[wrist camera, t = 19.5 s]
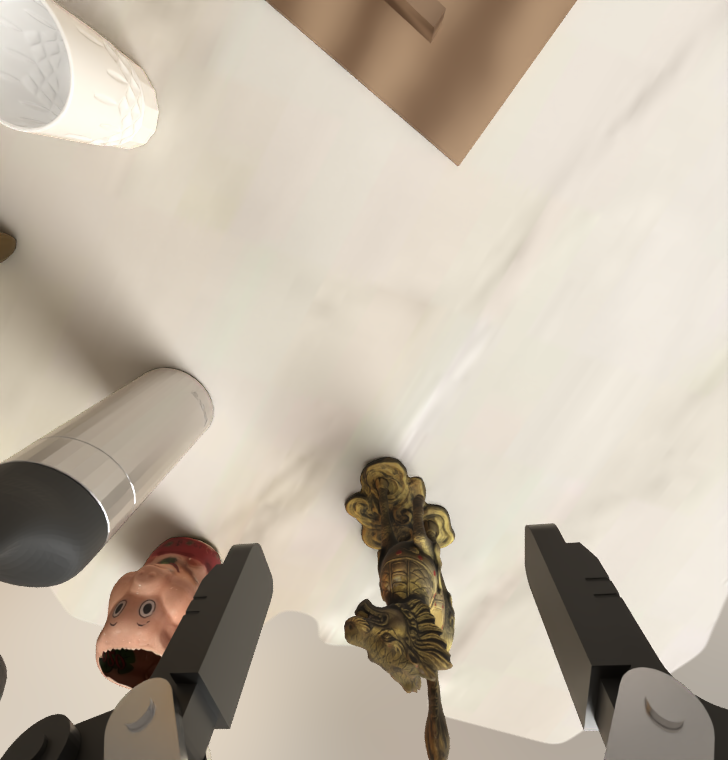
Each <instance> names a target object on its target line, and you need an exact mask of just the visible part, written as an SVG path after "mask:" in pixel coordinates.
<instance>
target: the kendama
mask: <svg viewBox="0 0 728 760" xmlns="http://www.w3.org/2000/svg"><path fill="white" fill-rule="evenodd" d="M15 248H16V240H15V239H14V238H13V237H12V236H10V235H8V234H6V233H0V263H1V262H3V261H4V260H6V259H7V258H8V257H9V256H10V255H11V254H12V253H13V251H14V249H15Z"/></svg>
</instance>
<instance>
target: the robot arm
mask: <svg viewBox="0 0 728 760" xmlns="http://www.w3.org/2000/svg"><path fill="white" fill-rule="evenodd" d="M212 419H213V405H212V401H211V399H210V397H209V394H208V393H207V391H206V390H205V388H204V387H203V386H202V385H201V384H200V383H199V382H198V381H197V380H196V379H194V378H193V377H191V376H190V375H189V374H186V373H184V372H182V371H180V370H176V369H172V368H158V369H154V370H151V371H149V372H147V373H145V374H144V375H142V376H140V377H139V378H137V379H135V380H134V381H132V382H131V383H129V384H127V385H126V386H124V387H122V388H121V389H119V390H118V391H116V392H114V393H113V394H111V395H109V396H108V397H106V398H105V399H103V400H101V401H100V402H98V403H96V404H95V405H93V406H92V407H90V408H88V409H87V410H85V411H84V412H82V413H80V414H79V415H77V416H75V417H74V418H72V419H71V420H69V421H67V422H66V423H64V424H63V425H61V426H59V427H58V428H56V429H54V430H53V431H51V432H50V433H48V434H46V435H45V436H43V437H42V438H40V439H38V440H37V441H35V442H33V443H32V444H31V445H29V446H27V447H26V448H24V449H23V450H21V451H19V452H18V453H16V454H14V455H13V456H11V457H10V458H8V459H6V460H5V461H3V462H2V463H0V581H2V582H5V583H9V584H13V585H18V586H27V587H49V586H54V585H58V584H61V583H63V582H66V581H68V580H70V579H71V578H73V577H74V576H76V575H77V574H78V573H79V572H80V571H82V570H83V568H84V567H85V566H86V565H87V564H88V563H89V562H90V561H91V560H92V559H93V558H94V557H95V555H96V554H97V553H98V552H99V551H100V550H101V549H102V548H103V546H104V545H105V544H106V543H107V542H108V541H109V540H110V539H111V537H112V536H113V535H114V534H115V533H116V532H117V531H118V530H119V528H120V527H121V526H122V525H123V524H124V523H125V522H126V521H127V519H128V518H129V517H130V516H131V515H132V514H133V512H134V511H135V510H136V509H137V508H138V507H139V506H140V505H141V503H142V502H143V501H144V500H145V499H146V498H147V497H148V496H149V494H150V493H151V492H152V491H153V490H154V489H155V488H156V486H157V485H158V484H159V483H160V482H161V481H162V480H163V479H164V477H165V476H166V475H167V474H168V473H169V472H170V471H171V470H172V468H173V467H174V466H175V465H176V464H177V463H178V462H179V461H180V459H181V458H182V457H183V456H184V455H185V454H186V453H187V452H188V450H189V449H190V448H191V447H192V446H193V445H194V444H195V442H196V441H197V440H198V439H199V438H200V437H201V436H202V435H203V433H204V432H205V431H206V430H207V429H208V428H209V426H210V424H211V422H212ZM525 569H526V574H527V579H528V582H529V586H530V589H531V591H532V594H533V597H534V599H535V602H536V605H537V607H538V610H539V613H540V615H541V618H542V620H543V623H544V626H545V628H546V631H547V634H548V636H549V639H550V642H551V644H552V647H553V650H554V652H555V655H556V658H557V660H558V663H559V666H560V668H561V671H562V674H563V676H564V679H565V682H566V684H567V687H568V690H569V692H570V695H571V698H572V700H573V703H574V706H575V708H576V711H577V714H578V716H579V719H580V721H581V724H582V727H583V729H584V731H591V730H592V731H597V730H598V731H599V732H600V734H601V737H602V739H603V741H604V744H605V747H606V752H605V757H604V760H728V710H727V709H724V708H721V707H719V706H716V705H713V704H711V703H709V702H707V701H705V700H703V699H701V698H699V697H698V696H696V695H694V694H693V693H692V692H691V691H690V690H689V689H688V688H687V687H686V686H685V685H683V684H682V683H681V682H679V681H678V680H676V679H675V678H674V677H672V675H671V674H670V673H669V672H668V671H667V670H666V669H665V667H664V666H663V664H662V663H661V661H660V660H659V658H658V657H657V655H656V653H655V652H654V650H653V648H652V647H651V645H650V644H649V642H648V640H647V639H646V637H645V635H644V634H643V632H642V630H641V629H640V627H639V625H638V624H637V622H636V621H635V619H634V617H633V616H632V614H631V612H630V611H629V609H628V607H627V606H626V604H625V602H624V601H623V599H622V598H621V597H620V596H619V593H618V591H617V589H616V588H615V586H614V584H613V583H612V581H610V579H609V576H608V575H607V573H606V571H605V570H604V568H603V566H602V565H601V563H600V561H599V560H598V558H597V557H596V556H595V555H593V554H592V553H591V552H590V551H589V550H588V549H587V548H585V547H584V546H583V545H582V544H581V543H580V542H578V543H565V541H564V539H563V537H562V535H561V533H560V531H559V530H558V528H557V526H556V525H555V524H553V523H552V524H537V525H526V527H525ZM272 593H273V579H272V575H271V572H270V570H269V567H268V564H267V562H266V559H265V556H264V553H263V551H262V548H261V546H260V544H258V543H253V544H239V545H233V546H232V547H231V549H230V551H229V553H228V555H227V557H226V559H225V561H224V563H223V564H216V565H215V566H214V568H213V569H212V570H211V571H210V572H209V573H208V574H207V575H206V576H205V577H204V578H203V580H202V581H201V583H200V585H199V587H198V589H197V591H196V593H195V595H194V596H193V600H192V601H191V602H190V604H189V606H188V608H187V610H186V614H185V615H183V617H182V619H181V621H180V623H179V625H178V627H177V629H176V630H175V632H174V634H173V636H172V638H171V640H170V642H169V644H168V646H167V647H166V649H165V651H164V653H163V655H162V657H161V659H160V661H159V663H158V664H157V666H156V668H155V670H154V672H153V674H152V675H151V677H150V678H149V679H148V680H146V681H144V682H142V683H140V684H138V685H137V686H135V687H134V688H133V689H132V690H130V691H129V692H128V693H127V694H126V695H125V696H124V697H123V698H122V700H121V701H120V702H119V703H118V704H117V706H116V707H115V709H113V710H111V711H109V712H106V713H104V714H101V715H99V716H96V717H93V718H91V719H88V720H86V721H83V722H81V723H78V724H76V725H73V723H72V722H71V721H70V720H69V719H68V718H67V717H66V716H65V715H62V714H56V715H51V716H48V717H46V718H44V719H42V720H40V721H38V722H37V723H35V724H34V725H32V726H31V727H30V728H28V729H27V730H26V731H25V732H24V733H23V734H21V735H20V736H19V738H17V739H16V741H14V743H13V744H12V745H11V746H10V747H9V748H8V750H7V751H6V752H5V754H4V755H3V757H2V758H1V759H0V760H212V759H211V753H210V749H209V747H208V745H209V741H210V739H211V736H212V733H213V730H214V729H230V727H231V724H232V720H233V717H234V714H235V711H236V708H237V705H238V701H239V698H240V695H241V692H242V689H243V686H244V683H245V680H246V677H247V673H248V670H249V667H250V664H251V661H252V658H253V655H254V652H255V648H256V645H257V642H258V639H259V636H260V633H261V630H262V627H263V623H264V620H265V617H266V614H267V611H268V608H269V605H270V602H271V598H272ZM6 679H7V670H6V666H5V663H4V661H3V658H2V657H1V655H0V700H1V697H2V695H3V691H4V687H5V684H6Z"/></svg>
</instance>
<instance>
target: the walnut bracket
mask: <svg viewBox="0 0 728 760" xmlns="http://www.w3.org/2000/svg"><path fill="white" fill-rule="evenodd" d="M265 1H267V2H268V3H269V4H270V5H271V6H272V7H274V8H275V9H276V10H277V11H278V12H279V13H281V14H282V15H283V16H284V17H285V18H286V19H288V20H289V21H290V22H291V23H292V24H293V25H295V26H296V27H297V28H298V29H299V30H300V31H301V32H303V33H304V34H305V35H306V36H307V37H308V38H310V39H311V40H312V41H313V42H314V43H315V44H317V45H318V46H319V47H320V48H321V49H322V50H324V51H325V52H326V53H327V54H328V55H329V56H331V57H332V58H333V59H334V60H335V61H336V62H338V63H339V64H340V65H341V66H342V67H343V68H344V69H346V70H347V71H348V72H349V73H350V74H351V75H353V76H354V77H355V78H356V79H357V80H358V81H360V82H361V83H362V84H363V85H364V86H365V87H367V88H368V89H369V90H370V91H371V92H372V93H374V94H375V95H376V96H377V97H378V98H379V99H381V100H382V101H383V102H384V103H385V104H386V105H388V106H389V107H390V108H391V109H392V110H393V111H394V112H396V113H397V114H398V115H399V116H400V117H401V118H403V119H404V120H405V121H406V122H407V123H408V124H410V125H411V126H412V127H413V128H414V129H415V130H417V131H418V132H419V133H420V134H421V135H422V136H424V137H425V138H426V139H427V140H428V141H429V142H431V143H432V144H433V145H434V146H435V147H436V148H437V149H439V150H440V151H441V152H442V153H443V154H444V155H446V156H447V157H448V158H449V159H450V160H451V161H453V162H454V163H455V164H456V165H457V166H459V165H460V163H461V162H462V161H463V159H464V158H465V156H466V155H467V154H468V152H469V151H470V149H471V148H472V147H473V145H474V144H475V142H476V141H477V140H478V138H479V137H480V135H481V134H482V133H483V131H484V130H485V128H486V127H487V126H488V124H489V123H490V121H491V120H492V119H493V117H494V116H495V114H496V113H497V112H498V110H499V109H500V107H501V106H502V105H503V103H504V102H505V100H506V99H507V98H508V96H509V95H510V93H511V92H512V91H513V89H514V88H515V86H516V85H517V84H518V82H519V81H520V79H521V78H522V77H523V75H524V74H525V72H526V71H527V70H528V68H529V67H530V65H531V64H532V63H533V61H534V60H535V58H536V57H537V56H538V54H539V53H540V51H541V50H542V49H543V47H544V46H545V44H546V43H547V42H548V40H549V39H550V37H551V36H552V35H553V33H554V32H555V30H556V29H557V28H558V26H559V25H560V23H561V22H562V21H563V19H564V18H565V16H566V15H567V14H568V12H569V11H570V9H571V8H572V7H573V5H574V4H575V2H576V1H577V0H265Z"/></svg>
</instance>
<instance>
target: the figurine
mask: <svg viewBox="0 0 728 760" xmlns="http://www.w3.org/2000/svg"><path fill="white" fill-rule="evenodd" d="M360 481H361V485H362V489H361V491H360V492H358V493H356V494H354V495H353V496H352V497H351V498H349V499H348V501H347V502H346V504H345V508H346V511H347V512H348V513H349V514H350V515H351V516H353V517H354V518H356V519H357V520H358V521H359V522H360V523H361V524H362V539H363V541H364V543H365V544H366V545H367V546H369V547H371V548H374V549H378V552H377V557H378V573H379V578H380V582H379V586H380V590H381V596H382V599H383V601H385V602H386V604H387V606H385V607H382V608H381V607H376V606H374V605H372V603H371V602H370V601H369V600H368V599H365V600H363V601H362V602H361V603H360V604H359V605H358V607H357V609H356V610H355V615H356V616H353V617H351V618H349V619H348V620H347V621H346V622H345V625H344V629H345V639H346V640H347V642H348V643H350V644H352V645H355V646H358V647H361V648H364V649H366V650H367V653H368V658H369V660H370V661H371V662H374V663H376V664H378V665H379V666H381V667H382V668H383V669H384V670H385V671H387V672H388V673H389V674H390V675H391V677H392V678H393V679H394V680H395V681H397V682H398V683H399V684H400V685H401V686H402V687H403V689H404V690H405V691H406V692H407V693H411V692H412V691H413V692H416V693H417V689H418V690H420V687H421V678H420V676H421V677H423V678H426V679H427V685H428V700H429V712H428V717H427V721H426V726H425V743H426V749H427V754H428V758H429V760H447V759H448V754H449V749H450V748H449V747H450V745H449V743H450V740H449V734H448V729H447V725H446V720H445V716H444V713H443V709H442V704H441V698H440V687H439V681H438V671H439V670H447V669H450V668H451V667H452V666H453V665H452V664H451V662H450V656H451V655H450V654H449V650H450V648H451V645H452V642H453V636H454V622H455V617H454V614H455V613H454V610H453V607H452V598H451V595H450V593H449V592H448V591H447V589H446V586H445V583H444V580H443V577H442V573H441V566H442V562H441V559H440V548H444V547H446V546H448V545H449V544H451V543H452V542H453V540H454V538H455V533H454V531H453V529H452V528H451V523H450V517H449V514H448V512H447V510H446V509H444V508H443V507H440V506H436V505H430V504H427V503H426V502H425V496H426V489H425V485H424V482H423V480H422V479H421V478H418V477H412V478H410V477H408V475H407V470H406V468H405V466H404V465H403V464H402V463H401V462H400V461H399V460H397V459H394V458H390V457H385V458H381V459H378V460H376V461H373V462H371V463H369V464H368V465H367V466H366V467H365V468H364V470H363V472H362V474H361V478H360Z"/></svg>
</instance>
